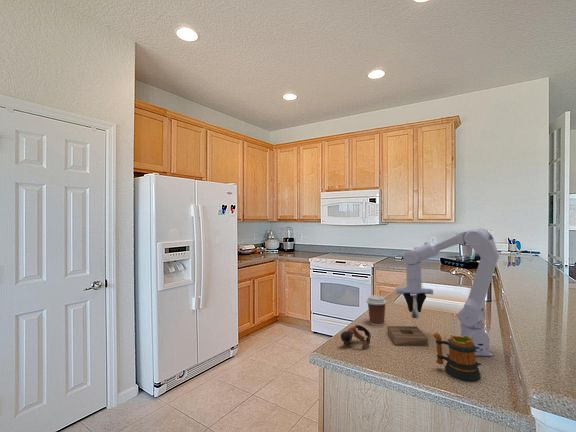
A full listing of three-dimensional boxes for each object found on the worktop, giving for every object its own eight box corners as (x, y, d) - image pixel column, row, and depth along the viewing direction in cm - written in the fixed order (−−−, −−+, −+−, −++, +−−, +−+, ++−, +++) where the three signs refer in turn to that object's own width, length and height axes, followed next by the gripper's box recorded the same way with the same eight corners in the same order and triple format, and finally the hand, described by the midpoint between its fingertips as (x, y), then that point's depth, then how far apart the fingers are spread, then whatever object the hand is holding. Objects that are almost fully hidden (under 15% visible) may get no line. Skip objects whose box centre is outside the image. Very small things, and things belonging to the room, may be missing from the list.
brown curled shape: (354, 338, 120) (364, 323, 118) (367, 357, 112) (378, 341, 110) (331, 337, 114) (341, 320, 112) (344, 356, 107) (354, 339, 104)
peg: (419, 318, 121) (419, 296, 121) (411, 318, 121) (411, 296, 121) (417, 316, 124) (417, 294, 124) (410, 315, 124) (409, 294, 124)
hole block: (427, 345, 111) (427, 337, 111) (395, 345, 112) (394, 337, 112) (417, 333, 122) (416, 326, 123) (387, 333, 124) (387, 325, 124)
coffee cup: (388, 321, 138) (388, 295, 138) (385, 327, 130) (384, 300, 130) (369, 318, 142) (368, 293, 142) (364, 324, 134) (364, 298, 134)
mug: (479, 368, 93) (478, 332, 93) (484, 385, 84) (483, 345, 84) (433, 361, 99) (432, 326, 99) (434, 375, 90) (433, 338, 90)
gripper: (428, 276, 126) (429, 308, 126) (393, 276, 127) (394, 308, 127) (434, 280, 119) (435, 313, 119) (397, 280, 120) (398, 313, 120)
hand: (414, 311), depth 122 cm, fingers closed on peg, 3 cm apart
